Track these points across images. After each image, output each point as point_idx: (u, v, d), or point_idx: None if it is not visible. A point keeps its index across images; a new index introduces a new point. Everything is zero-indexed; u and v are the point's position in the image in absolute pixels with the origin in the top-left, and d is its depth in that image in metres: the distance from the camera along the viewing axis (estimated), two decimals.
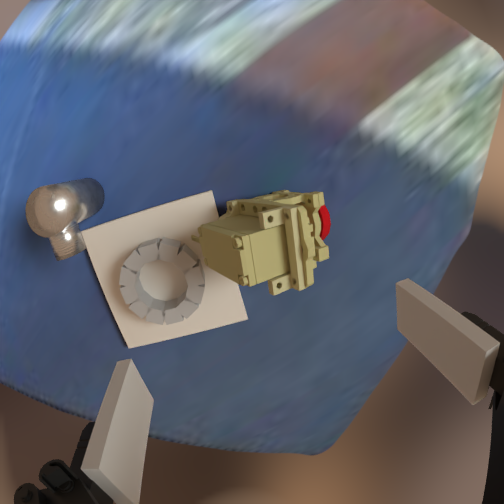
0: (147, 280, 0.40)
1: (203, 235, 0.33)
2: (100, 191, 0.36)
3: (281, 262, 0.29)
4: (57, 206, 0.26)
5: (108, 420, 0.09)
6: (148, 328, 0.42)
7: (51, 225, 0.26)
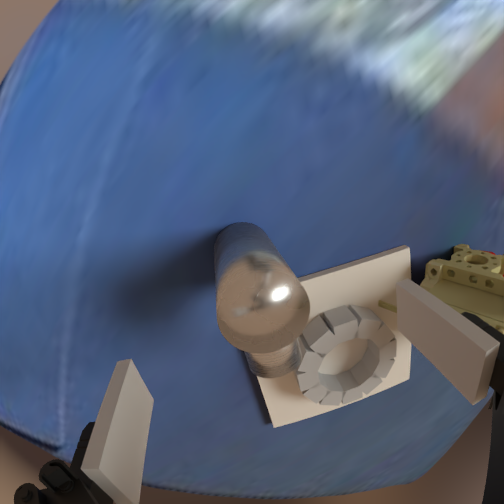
0: None
1: None
2: None
3: None
4: (293, 305, 0.17)
5: (108, 420, 0.09)
6: (305, 405, 0.33)
7: (274, 335, 0.17)
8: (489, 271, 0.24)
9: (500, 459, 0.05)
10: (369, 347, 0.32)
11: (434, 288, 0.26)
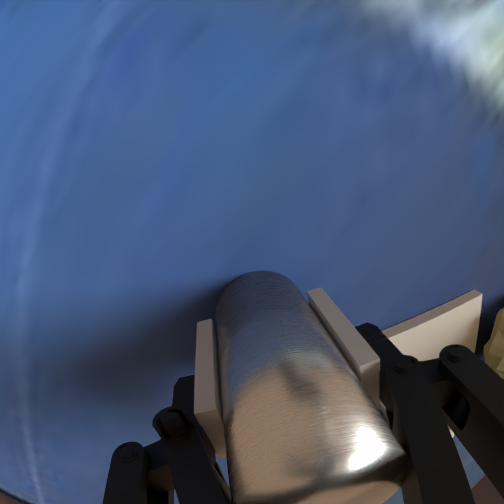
0: None
1: None
2: None
3: None
4: (381, 482, 0.06)
5: (209, 368, 0.12)
6: None
7: None
8: None
9: (410, 482, 0.06)
10: None
11: None
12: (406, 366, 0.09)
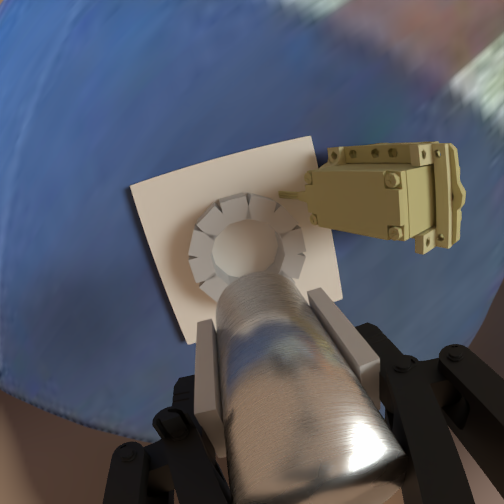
0: (221, 250, 0.31)
1: (316, 182, 0.24)
2: None
3: (428, 212, 0.21)
4: (381, 482, 0.06)
5: (209, 368, 0.12)
6: None
7: None
8: None
9: (410, 482, 0.06)
10: (279, 246, 0.32)
11: (331, 166, 0.27)
12: (406, 366, 0.09)
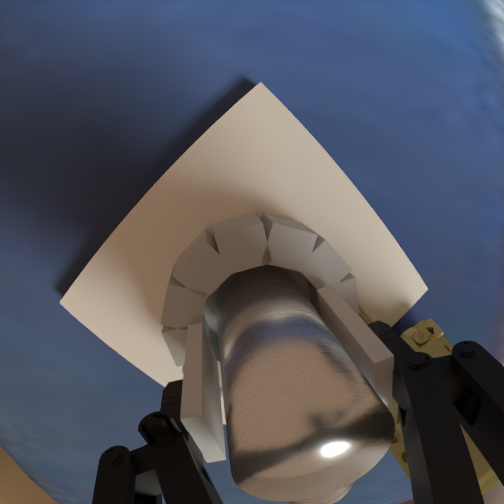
0: None
1: (427, 351, 0.14)
2: None
3: None
4: (368, 440, 0.08)
5: (197, 373, 0.11)
6: (128, 322, 0.19)
7: (329, 479, 0.08)
8: None
9: (420, 478, 0.06)
10: None
11: None
12: (420, 363, 0.09)
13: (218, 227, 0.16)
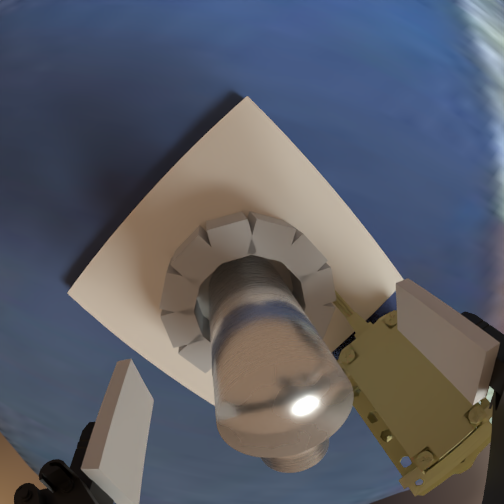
0: None
1: (397, 332, 0.17)
2: None
3: None
4: (330, 401, 0.10)
5: (108, 420, 0.09)
6: (130, 309, 0.21)
7: (300, 437, 0.11)
8: None
9: (500, 459, 0.05)
10: None
11: None
12: None
13: (210, 223, 0.19)
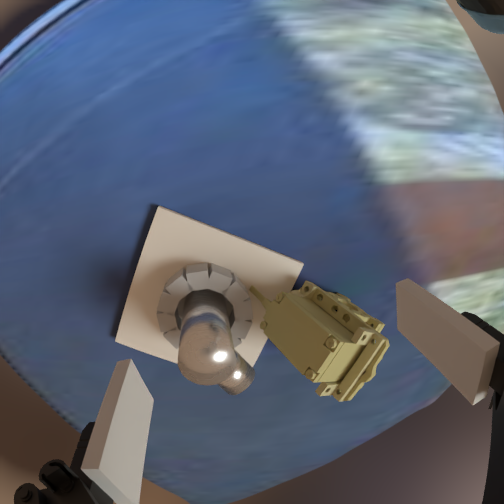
0: None
1: (282, 304, 0.32)
2: (221, 296, 0.36)
3: (341, 372, 0.29)
4: (221, 352, 0.26)
5: (108, 420, 0.09)
6: (150, 337, 0.37)
7: (220, 371, 0.26)
8: (352, 312, 0.33)
9: (500, 459, 0.05)
10: None
11: (299, 297, 0.34)
12: None
13: (168, 281, 0.35)
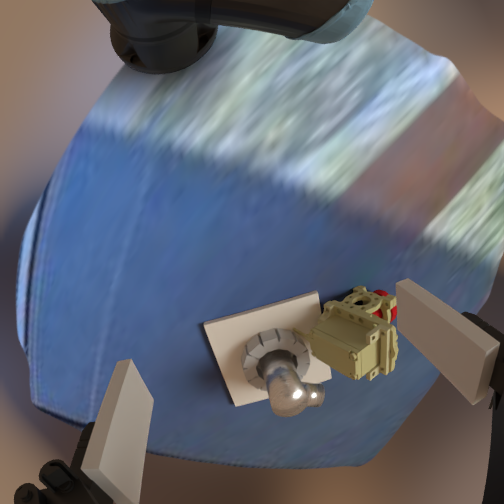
0: None
1: (315, 339, 0.43)
2: None
3: (375, 359, 0.39)
4: (294, 395, 0.39)
5: (108, 420, 0.09)
6: (255, 391, 0.52)
7: (300, 403, 0.39)
8: (364, 311, 0.43)
9: (500, 459, 0.05)
10: (294, 355, 0.50)
11: (325, 322, 0.45)
12: None
13: (242, 360, 0.48)
